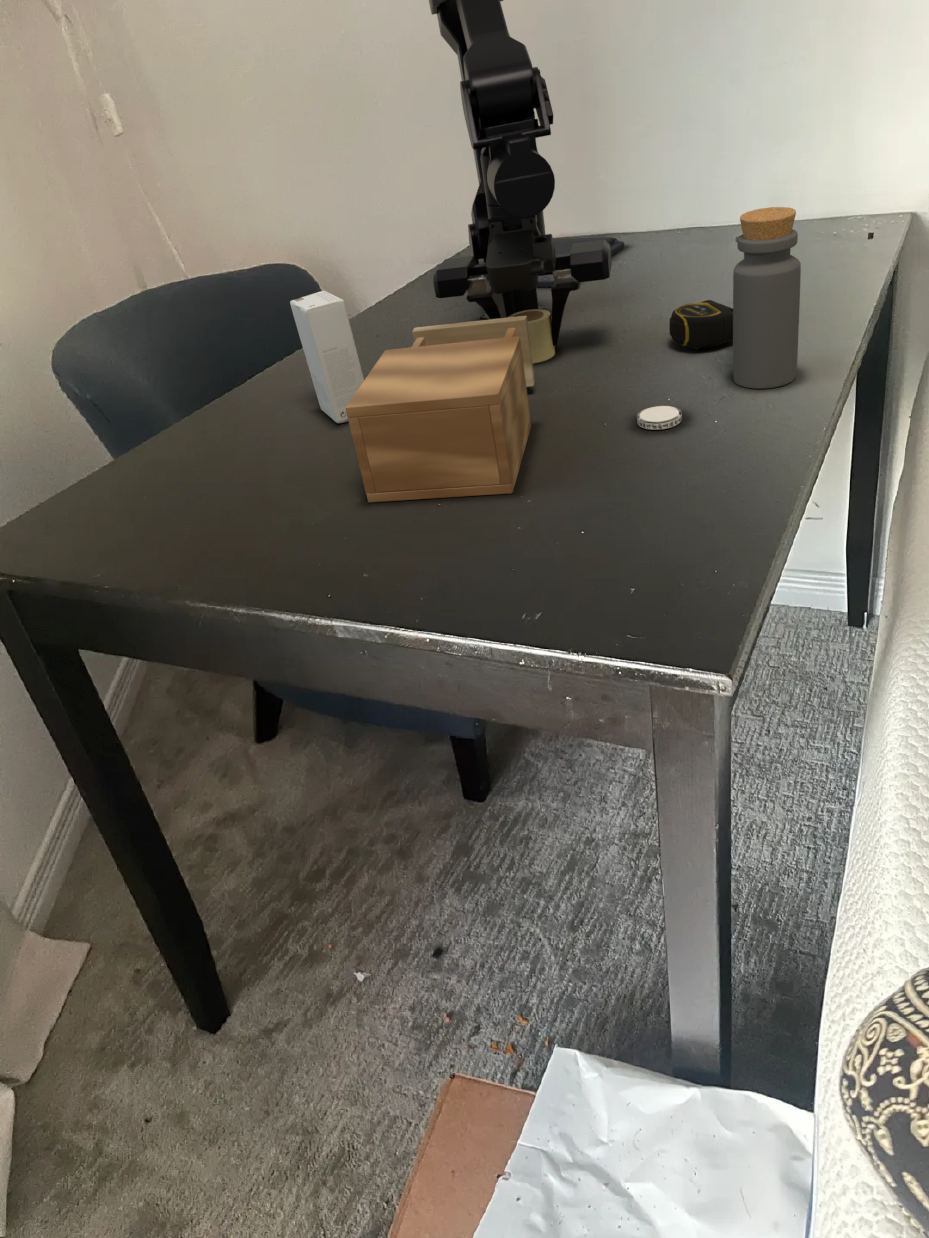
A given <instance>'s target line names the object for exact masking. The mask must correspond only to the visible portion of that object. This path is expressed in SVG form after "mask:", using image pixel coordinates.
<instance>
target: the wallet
mask: <svg viewBox="0 0 929 1238" xmlns="http://www.w3.org/2000/svg"><path fill="white" fill-rule="evenodd" d="M597 240H605V241H606V242H607V243H609V244H610V248H611V257H613V256H614V255H616V254H617V253H618V252H620V251H621V250H622V249H623V248H624V247H625V242H624V241H622V240H619V239H618V238H616V237H613V236H606V237H605V236H598V237H597V236H596V237H594V236H593V237H565V238H564V237H562V238H553V241H554V246H555V252H556V255H561V254H569V253H570V252H571V249H572V246H573V243H581V242H589V241H597ZM554 279H555V278H553V274H552V275H543V276H538V284H537V286H536V288H552V285H553V282H554Z"/></svg>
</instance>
